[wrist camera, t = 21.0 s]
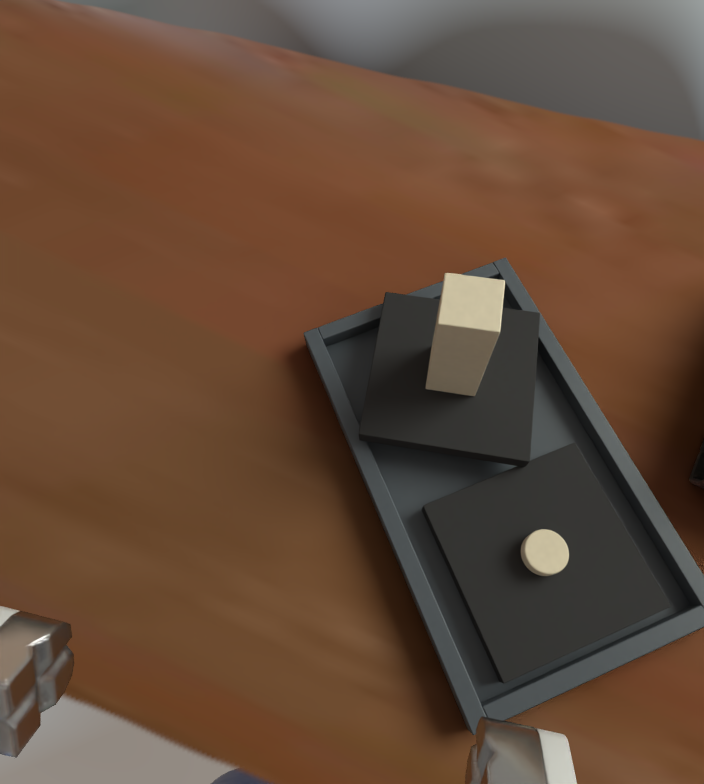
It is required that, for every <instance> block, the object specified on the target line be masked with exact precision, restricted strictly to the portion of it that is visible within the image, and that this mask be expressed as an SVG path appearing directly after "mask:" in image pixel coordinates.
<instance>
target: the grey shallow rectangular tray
mask: <svg viewBox="0 0 704 784" xmlns="http://www.w3.org/2000/svg"><path fill="white" fill-rule="evenodd" d="M461 275H467V276H475V277H483V278H491V279H499V280H505V289H504V299H503V308H508V309H516V310H523V311H531V312H538V313H540V312H539V310H538V309H537V307H536V305H535V304H534V302H533V301H532V299H531V297H530V296H529V294H528V292H527V291H526V289H525V288H524V286H523V284H522V283H521V281H520V280H519V278H518V276H517V275H516V273H515V272H514V270H513V268H512V267H511V265H510V264H509V262H508V260H507V259H506V258H503V259H500V260H498V261H495V262H493V263H490V264H487V265H485V266H482V267H479V268H477V269H474V270H471V271H469V272H466V273H463V274H461ZM442 286H443V281H442V282H439V283H436V284H434V285H431V286H428V287H426V288H423V289H420V290H418V291H415V292H412V293H409V294H407V295H411V296H418V297H426V298H433V299H440V297H441V292H442ZM382 308H383V304H380V305H377V306H375V307H372V308H369V309H366V310H364V311H361V312H358V313H356V314H353V315H350V316H348V317H345V318H342V319H340V320H337V321H334V322H332V323H329V324H326V325H323V326H321V327H318V328H315V329H312V330H310V331H307V332H304V337H305V341H306V345H307V347H308V350H309V352H310V354H311V357H312V359H313V362H314V364H315V366H316V369H317V371H318V374H319V376H320V378H321V381H322V383H323V385H324V388H325V390H326V393H327V395H328V397H329V400H330V402H331V404H332V407H333V409H334V412H335V414H336V416H337V419H338V421H339V423H340V426H341V428H342V431H343V433H344V435H345V438H346V440H347V443H348V445H349V447H350V450H351V452H352V454H353V457H354V459H355V462H356V464H357V466H358V469H359V471H360V473H361V476H362V478H363V481H364V483H365V485H366V488H367V490H368V493H369V495H370V497H371V500H372V502H373V504H374V507H375V509H376V512H377V514H378V516H379V519H380V521H381V523H382V526H383V528H384V531H385V533H386V535H387V538H388V540H389V543H390V545H391V547H392V550H393V552H394V554H395V557H396V559H397V562H398V564H399V566H400V569H401V571H402V573H403V576H404V578H405V581H406V583H407V585H408V588H409V590H410V593H411V595H412V597H413V600H414V602H415V604H416V607H417V609H418V612H419V614H420V616H421V619H422V621H423V623H424V626H425V628H426V631H427V633H428V635H429V638H430V640H431V643H432V645H433V647H434V650H435V652H436V654H437V657H438V659H439V662H440V664H441V666H442V669H443V671H444V673H445V676H446V678H447V681H448V683H449V685H450V688H451V690H452V693H453V695H454V697H455V700H456V702H457V704H458V707H459V709H460V712H461V714H462V716H463V719H464V721H465V723H466V726H467V728H468V730H469V731H470V732H471V733H472V734H473V735H475V734H476V728H477V725H478V722H479V720H480V718H481V717H482V716H483V717H488V718H493V719H497V720H502V721H505V720H507V719H509V718H511V717H513V716H515V715H517V714H520V713H522V712H524V711H526V710H528V709H530V708H532V707H535V706H537V705H539V704H541V703H543V702H545V701H547V700H549V699H552V698H554V697H556V696H558V695H560V694H562V693H564V692H567V691H569V690H571V689H573V688H575V687H577V686H579V685H581V684H584V683H586V682H588V681H590V680H592V679H594V678H596V677H599V676H601V675H603V674H605V673H607V672H609V671H611V670H613V669H616V668H618V667H620V666H622V665H624V664H626V663H628V662H631V661H633V660H635V659H637V658H639V657H641V656H643V655H645V654H648V653H650V652H652V651H654V650H656V649H658V648H660V647H663V646H665V645H667V644H669V643H671V642H673V641H675V640H677V639H680V638H682V637H684V636H686V635H688V634H690V633H692V632H695V631H697V630H699V629H701V628H703V627H704V575H703V574H702V572H701V570H700V569H699V567H698V566H697V564H696V562H695V561H694V559H693V557H692V556H691V554H690V553H689V551H688V549H687V548H686V546H685V545H684V543H683V541H682V540H681V538H680V537H679V535H678V533H677V532H676V530H675V529H674V527H673V525H672V524H671V522H670V521H669V519H668V517H667V516H666V514H665V513H664V511H663V509H662V508H661V506H660V504H659V503H658V501H657V500H656V498H655V496H654V495H653V493H652V492H651V490H650V488H649V487H648V485H647V484H646V482H645V480H644V479H643V477H642V476H641V474H640V472H639V471H638V469H637V468H636V466H635V464H634V463H633V461H632V460H631V458H630V456H629V455H628V453H627V451H626V450H625V448H624V447H623V445H622V443H621V442H620V440H619V439H618V437H617V435H616V434H615V432H614V431H613V429H612V427H611V426H610V424H609V423H608V421H607V419H606V418H605V416H604V415H603V413H602V411H601V410H600V408H599V407H598V405H597V403H596V402H595V400H594V398H593V397H592V395H591V394H590V392H589V390H588V389H587V387H586V386H585V384H584V382H583V381H582V379H581V378H580V376H579V374H578V373H577V371H576V370H575V368H574V366H573V365H572V363H571V362H570V360H569V358H568V357H567V355H566V354H565V352H564V350H563V349H562V347H561V345H560V344H559V342H558V341H557V339H556V337H555V336H554V334H553V333H552V331H551V329H550V328H549V326H548V325H547V323H546V321H545V320H544V318H543V317H542V315H541V313H540V324H539V338H538V353H537V367H536V381H535V396H534V410H533V424H532V439H531V453H530V461H531V460H533V459H536V458H538V457H540V456H543V455H545V454H548V453H550V452H552V451H555V450H557V449H560V448H562V447H564V446H567V445H569V444H572V443H575V444H576V445H577V447H578V449H579V450H580V452H581V454H582V455H583V457H584V459H585V461H586V462H587V464H588V466H589V467H590V469H591V471H592V472H593V474H594V476H595V478H596V479H597V481H598V483H599V484H600V486H601V488H602V489H603V491H604V493H605V495H606V496H607V498H608V500H609V501H610V503H611V505H612V506H613V508H614V510H615V512H616V513H617V515H618V517H619V518H620V520H621V522H622V523H623V525H624V527H625V529H626V530H627V532H628V534H629V535H630V537H631V539H632V540H633V542H634V544H635V546H636V547H637V549H638V551H639V552H640V554H641V556H642V557H643V559H644V561H645V563H646V564H647V566H648V568H649V569H650V571H651V573H652V574H653V576H654V578H655V579H656V581H657V583H658V585H659V586H660V588H661V590H662V591H663V593H664V595H665V596H666V598H667V600H668V602H669V603H670V605H671V607H669V608H667V609H665V610H663V611H661V612H658V613H656V614H654V615H652V616H650V617H648V618H645V619H643V620H641V621H639V622H637V623H635V624H632V625H630V626H628V627H626V628H624V629H622V630H619V631H617V632H615V633H613V634H611V635H609V636H606V637H604V638H602V639H600V640H598V641H596V642H593V643H591V644H589V645H587V646H585V647H583V648H580V649H578V650H576V651H574V652H572V653H570V654H567V655H565V656H563V657H561V658H559V659H557V660H554V661H552V662H550V663H548V664H546V665H544V666H541V667H539V668H537V669H535V670H533V671H530V672H528V673H526V674H524V675H522V676H520V677H517V678H515V679H513V680H511V681H509V682H507V683H501V682H499V680H498V678H497V675H496V673H495V671H494V669H493V667H492V664H491V662H490V660H489V658H488V656H487V653H486V651H485V649H484V647H483V644H482V642H481V640H480V638H479V636H478V633H477V631H476V629H475V627H474V625H473V622H472V620H471V618H470V616H469V614H468V611H467V609H466V607H465V605H464V602H463V600H462V598H461V596H460V594H459V591H458V589H457V587H456V585H455V583H454V580H453V578H452V576H451V574H450V572H449V569H448V567H447V565H446V563H445V560H444V558H443V556H442V554H441V552H440V549H439V547H438V545H437V543H436V541H435V538H434V536H433V534H432V532H431V530H430V527H429V525H428V523H427V521H426V518H425V516H424V514H423V512H422V507H423V505H425V504H428V503H430V502H432V501H435V500H437V499H440V498H442V497H444V496H447V495H449V494H452V493H454V492H456V491H459V490H461V489H464V488H466V487H468V486H471V485H473V484H476V483H478V482H480V481H483V480H485V479H488V478H490V477H492V476H495V475H497V474H500V473H502V472H504V471H507V470H509V469H512V468H514V467H516V466H514V465H508V464H502V463H496V462H490V461H484V460H478V459H472V458H465V457H459V456H453V455H447V454H441V453H435V452H429V451H422V450H416V449H410V448H404V447H398V446H392V445H386V444H380V443H373V442H367V441H361V440H359V429H360V424H361V418H362V413H363V408H364V403H365V397H366V392H367V387H368V382H369V376H370V371H371V366H372V361H373V355H374V350H375V345H376V340H377V334H378V329H379V324H380V318H381V313H382Z"/></svg>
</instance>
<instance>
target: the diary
mask: <svg viewBox="0 0 704 784" xmlns="http://www.w3.org/2000/svg"><path fill="white" fill-rule="evenodd" d="M689 480H690V483H692V484H694V485H696V486H698V487H701V488H703V489H704V440H703V442H702V445H701V448H700V453H699V454H698V456H697V459H696V462H695V464H694V467H693V470H692V473H691V475H690V478H689Z"/></svg>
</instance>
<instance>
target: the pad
mask: <svg viewBox="0 0 704 784" xmlns="http://www.w3.org/2000/svg"><path fill="white" fill-rule="evenodd" d="M422 512H423V514H424V516H425V518H426V521H427V523H428V525H429V527H430V530H431V532H432V534H433V536H434V538H435V541H436V543H437V545H438V547H439V549H440V552H441V554H442V556H443V558H444V560H445V563H446V565H447V567H448V569H449V572H450V574H451V576H452V578H453V580H454V583H455V585H456V587H457V589H458V591H459V594H460V596H461V598H462V600H463V602H464V605H465V607H466V609H467V611H468V614H469V616H470V618H471V620H472V622H473V625H474V627H475V629H476V631H477V633H478V636H479V638H480V640H481V642H482V644H483V647H484V649H485V651H486V653H487V656H488V658H489V660H490V662H491V664H492V667H493V669H494V671H495V673H496V675H497V678H498V680H499V682H501V683H507V682H509V681H511V680H513V679H515V678H517V677H520V676H522V675H524V674H526V673H528V672H530V671H533V670H535V669H537V668H539V667H541V666H544V665H546V664H548V663H550V662H552V661H554V660H557V659H559V658H561V657H563V656H565V655H567V654H570V653H572V652H574V651H576V650H578V649H580V648H583V647H585V646H587V645H589V644H591V643H593V642H596V641H598V640H600V639H602V638H604V637H606V636H609V635H611V634H613V633H615V632H617V631H619V630H622V629H624V628H626V627H628V626H630V625H632V624H635V623H637V622H639V621H641V620H643V619H645V618H648V617H650V616H652V615H654V614H656V613H658V612H661V611H663V610H665V609H667V608H669V607H671V605H670V603H669V602H668V600H667V598H666V596H665V595H664V593H663V591H662V590H661V588H660V586H659V585H658V583H657V581H656V579H655V578H654V576H653V574H652V573H651V571H650V569H649V568H648V566H647V564H646V563H645V561H644V559H643V557H642V556H641V554H640V552H639V551H638V549H637V547H636V546H635V544H634V542H633V540H632V539H631V537H630V535H629V534H628V532H627V530H626V529H625V527H624V525H623V523H622V522H621V520H620V518H619V517H618V515H617V513H616V512H615V510H614V508H613V506H612V505H611V503H610V501H609V500H608V498H607V496H606V495H605V493H604V491H603V489H602V488H601V486H600V484H599V483H598V481H597V479H596V478H595V476H594V474H593V472H592V471H591V469H590V467H589V466H588V464H587V462H586V461H585V459H584V457H583V455H582V454H581V452H580V450H579V449H578V447H577V445H576V444H575V443H572V444H569V445H567V446H564V447H562V448H560V449H557V450H555V451H552V452H550V453H548V454H545V455H543V456H540V457H538V458H536V459H533V460H531V461H530V462H529V463H528V464H527V465H526V467H521V466H516V467H514V468H512V469H509V470H507V471H504V472H502V473H500V474H497V475H495V476H492V477H490V478H488V479H485V480H483V481H480V482H478V483H476V484H473V485H471V486H468V487H466V488H464V489H461V490H459V491H456V492H454V493H452V494H449V495H447V496H444V497H442V498H440V499H437V500H435V501H432V502H430V503H428V504H425V505H423V507H422Z"/></svg>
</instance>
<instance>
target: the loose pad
mask: <svg viewBox="0 0 704 784" xmlns="http://www.w3.org/2000/svg"><path fill="white" fill-rule="evenodd" d="M504 289H505V280H499V279H491V278H483V277H475V276H467V275H460V274H452V273H445V275H444V281H443V286H442V292H441V297H440V299H433V298H426V297H418V296H411V295H403V294H396V293H389V292H386V293H385V297H384V303H383V308H382V313H381V318H380V324H379V329H378V334H377V340H376V345H375V350H374V355H373V361H372V366H371V371H370V376H369V382H368V387H367V392H366V397H365V403H364V408H363V413H362V418H361V424H360V429H359V440H361V441H367V442H373V443H380V444H386V445H392V446H398V447H404V448H410V449H416V450H422V451H429V452H435V453H441V454H447V455H453V456H459V457H465V458H472V459H478V460H484V461H490V462H496V463H502V464H508V465H514V466H521V467H526V465H527V464H528V463H529V462H530V453H531V439H532V424H533V410H534V396H535V381H536V367H537V353H538V338H539V324H540V313H538V312H531V311H523V310H516V309H508V308H503V299H504Z"/></svg>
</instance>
